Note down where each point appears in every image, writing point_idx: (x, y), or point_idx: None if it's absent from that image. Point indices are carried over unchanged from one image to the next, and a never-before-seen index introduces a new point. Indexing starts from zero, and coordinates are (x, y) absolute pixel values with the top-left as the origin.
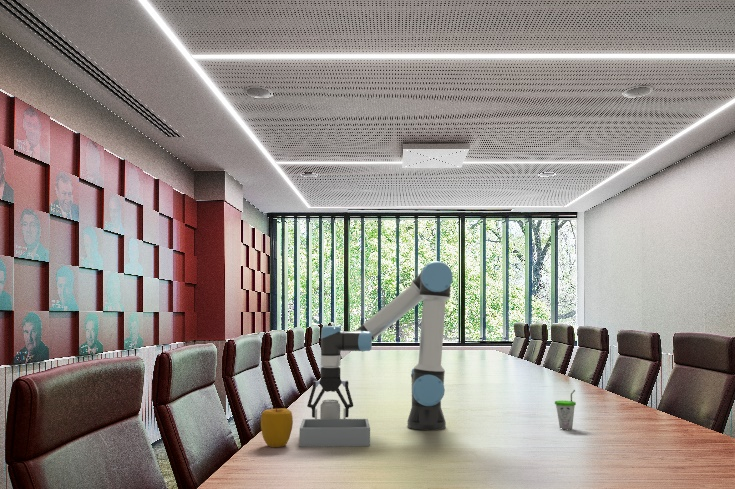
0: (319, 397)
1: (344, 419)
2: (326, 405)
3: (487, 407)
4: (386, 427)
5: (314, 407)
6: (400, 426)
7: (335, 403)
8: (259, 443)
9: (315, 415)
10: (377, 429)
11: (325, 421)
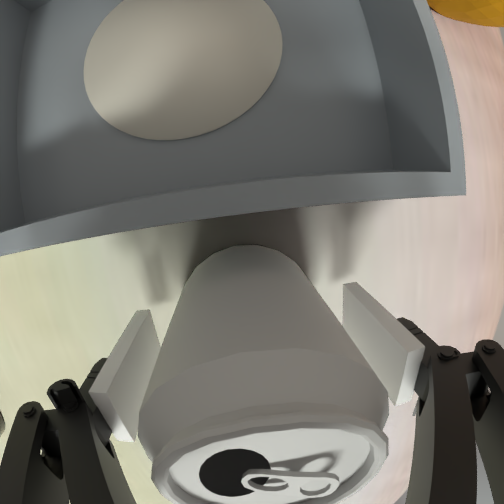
0: (453, 457)
1: (84, 211)
2: (320, 363)
3: None
4: None
5: (438, 357)
6: (12, 411)
7: (175, 426)
8: (492, 52)
9: (391, 319)
10: (42, 378)
11: (278, 178)
